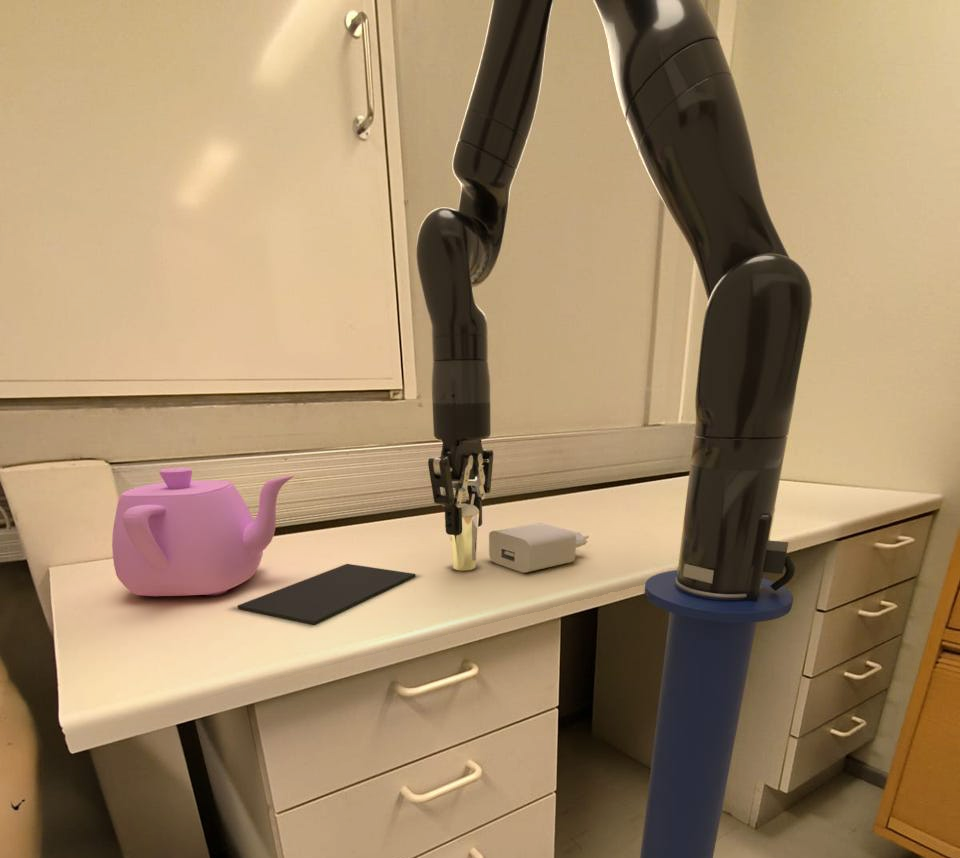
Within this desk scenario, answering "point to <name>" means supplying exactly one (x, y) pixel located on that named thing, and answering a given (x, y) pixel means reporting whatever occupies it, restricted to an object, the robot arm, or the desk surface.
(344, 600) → the mat
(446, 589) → the desk surface
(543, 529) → the charger
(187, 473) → the teapot
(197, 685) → the desk surface
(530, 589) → the desk surface
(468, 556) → the milkshake
